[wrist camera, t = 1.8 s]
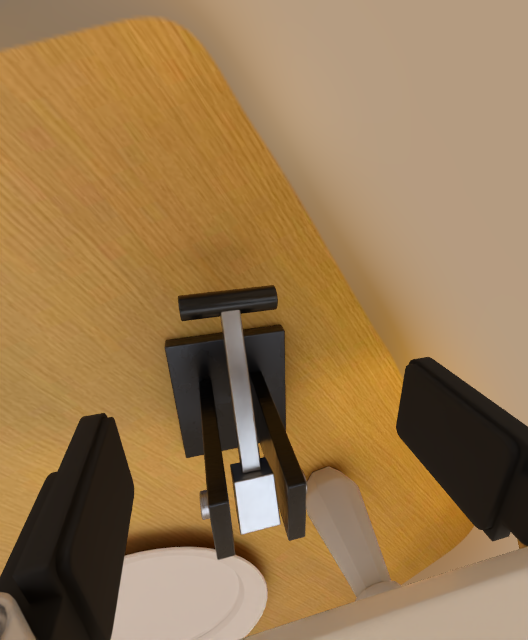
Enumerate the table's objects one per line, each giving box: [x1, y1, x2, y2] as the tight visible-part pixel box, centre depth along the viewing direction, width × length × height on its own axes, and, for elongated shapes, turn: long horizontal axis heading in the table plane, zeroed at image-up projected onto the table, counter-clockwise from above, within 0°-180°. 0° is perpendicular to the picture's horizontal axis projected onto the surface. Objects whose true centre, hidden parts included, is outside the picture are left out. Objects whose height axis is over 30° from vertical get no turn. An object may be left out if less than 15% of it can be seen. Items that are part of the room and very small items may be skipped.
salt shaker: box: [306, 466, 402, 601], centre depth 29 cm, size 6×6×13 cm
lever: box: [178, 285, 280, 535], centre depth 18 cm, size 13×6×2 cm, turn 2°
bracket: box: [165, 325, 308, 560], centre depth 22 cm, size 11×9×12 cm
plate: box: [110, 547, 268, 640], centre depth 36 cm, size 26×26×2 cm
